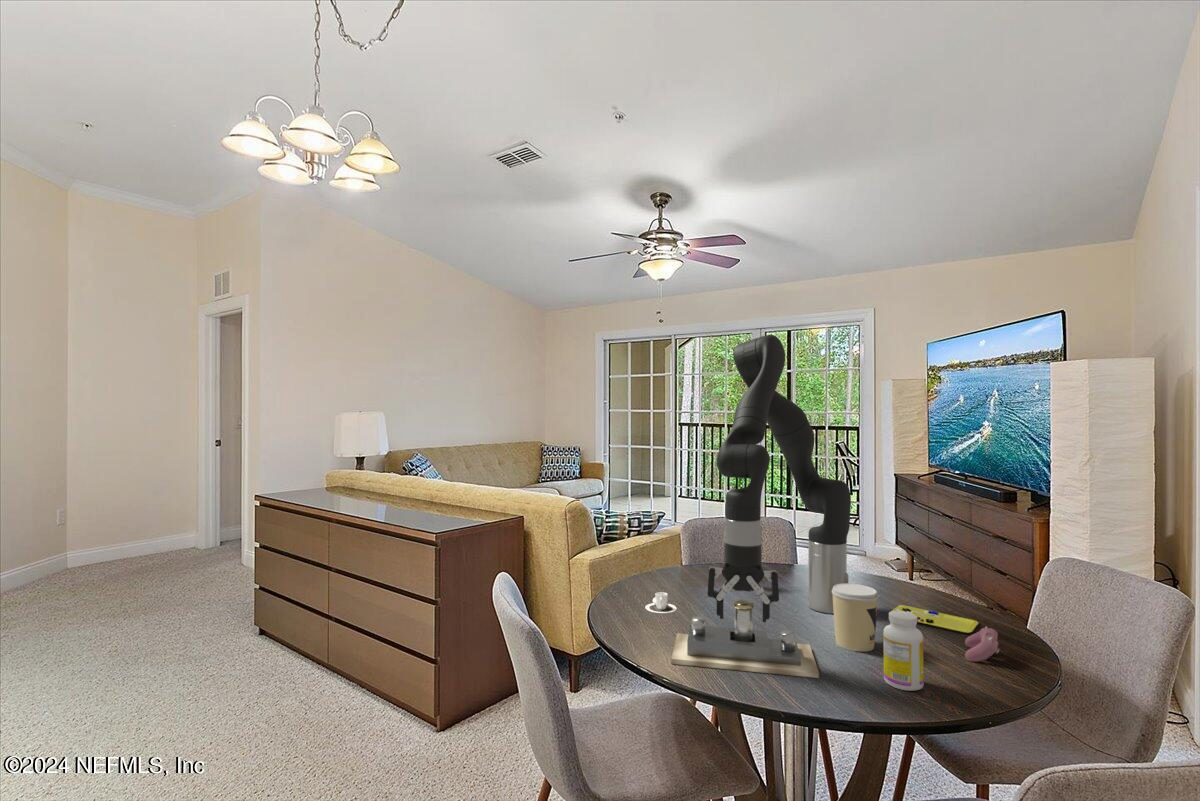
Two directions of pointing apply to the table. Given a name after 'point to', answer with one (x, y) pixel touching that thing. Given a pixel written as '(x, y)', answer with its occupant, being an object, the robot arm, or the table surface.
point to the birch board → (805, 670)
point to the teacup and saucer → (660, 602)
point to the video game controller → (982, 644)
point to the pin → (743, 620)
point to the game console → (941, 620)
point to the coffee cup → (855, 616)
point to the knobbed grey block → (741, 645)
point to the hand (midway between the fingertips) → (742, 619)
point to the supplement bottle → (903, 652)
